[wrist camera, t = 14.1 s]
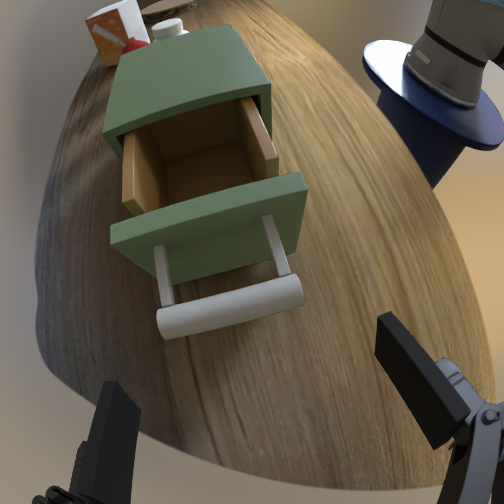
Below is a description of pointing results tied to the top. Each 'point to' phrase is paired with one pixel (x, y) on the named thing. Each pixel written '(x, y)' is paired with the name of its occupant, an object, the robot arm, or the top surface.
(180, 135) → the drawer
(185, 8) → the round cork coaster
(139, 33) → the small box
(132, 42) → the onion
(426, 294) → the top surface
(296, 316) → the top surface
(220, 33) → the cabinet
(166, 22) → the supplement bottle
